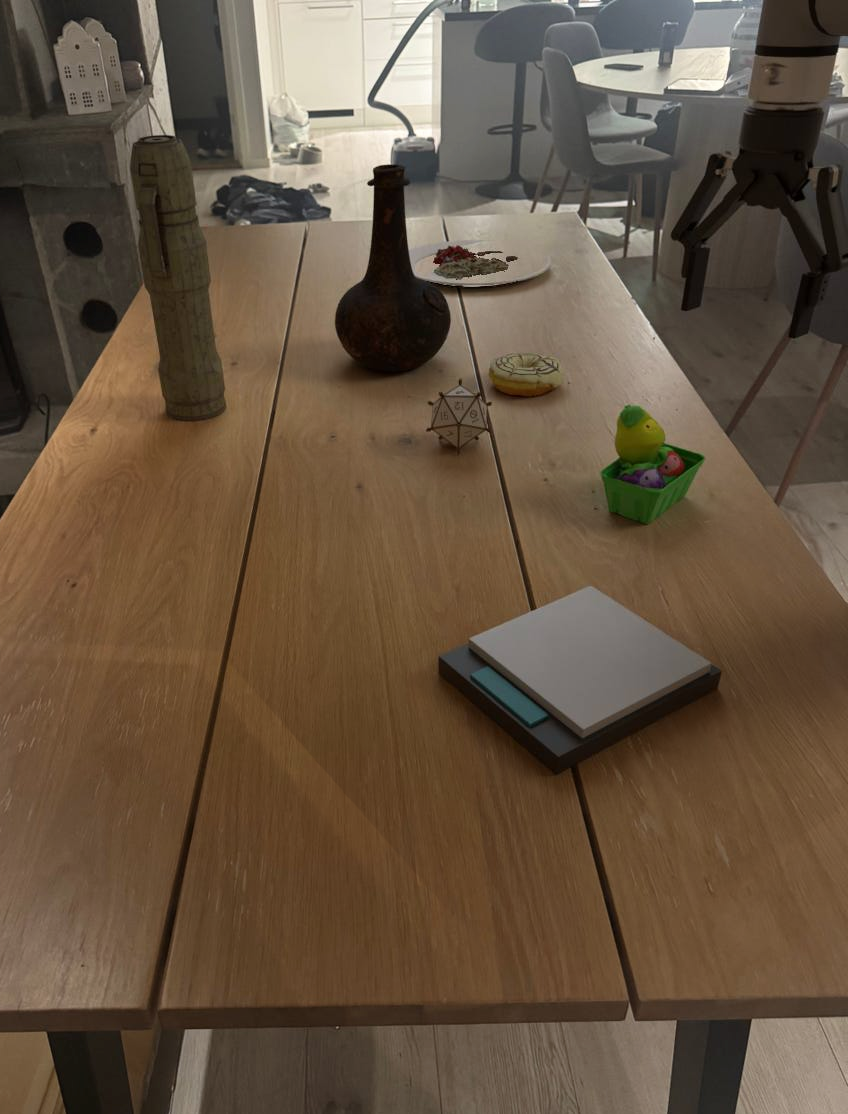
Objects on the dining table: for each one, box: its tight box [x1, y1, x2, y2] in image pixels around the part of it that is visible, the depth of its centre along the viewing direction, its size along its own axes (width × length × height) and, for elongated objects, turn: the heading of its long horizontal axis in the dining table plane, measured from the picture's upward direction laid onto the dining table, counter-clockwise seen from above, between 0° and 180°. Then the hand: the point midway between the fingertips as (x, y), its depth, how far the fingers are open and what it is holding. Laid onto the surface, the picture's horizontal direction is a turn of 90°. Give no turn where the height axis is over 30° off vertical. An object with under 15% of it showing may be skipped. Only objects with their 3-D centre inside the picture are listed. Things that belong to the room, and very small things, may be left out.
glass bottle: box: [334, 163, 452, 373], centre depth 142 cm, size 18×18×28 cm
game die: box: [425, 377, 493, 456], centre depth 124 cm, size 9×8×10 cm
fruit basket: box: [600, 404, 706, 525], centre depth 109 cm, size 11×9×11 cm
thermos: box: [129, 134, 227, 421], centre depth 128 cm, size 9×12×35 cm
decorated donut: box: [488, 352, 565, 397], centre depth 140 cm, size 10×11×4 cm
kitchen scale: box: [437, 585, 723, 776], centre depth 85 cm, size 16×19×3 cm
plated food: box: [409, 239, 552, 286], centre depth 187 cm, size 30×30×3 cm
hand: (742, 321), depth 107 cm, fingers open, 13 cm apart
